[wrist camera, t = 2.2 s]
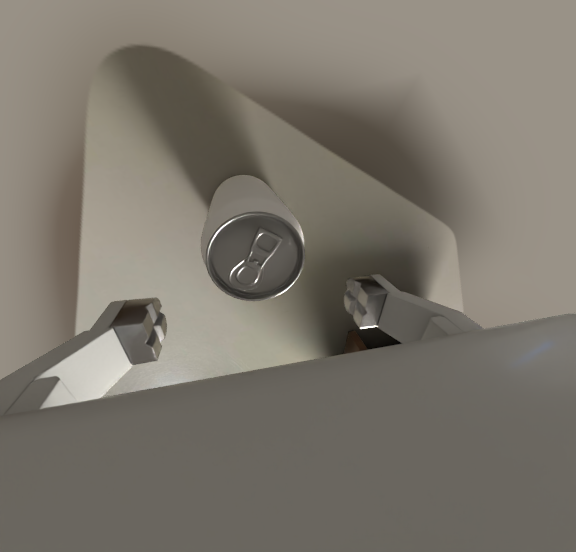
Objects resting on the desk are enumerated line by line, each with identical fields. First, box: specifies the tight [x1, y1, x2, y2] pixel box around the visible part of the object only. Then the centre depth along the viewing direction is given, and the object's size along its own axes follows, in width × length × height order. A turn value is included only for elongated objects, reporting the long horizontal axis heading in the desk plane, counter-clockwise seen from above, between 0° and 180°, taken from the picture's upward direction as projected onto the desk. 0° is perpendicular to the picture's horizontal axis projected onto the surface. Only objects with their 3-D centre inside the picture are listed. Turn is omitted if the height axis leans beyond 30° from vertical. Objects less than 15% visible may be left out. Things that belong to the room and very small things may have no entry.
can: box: [201, 175, 305, 301], centre depth 18 cm, size 6×6×12 cm
